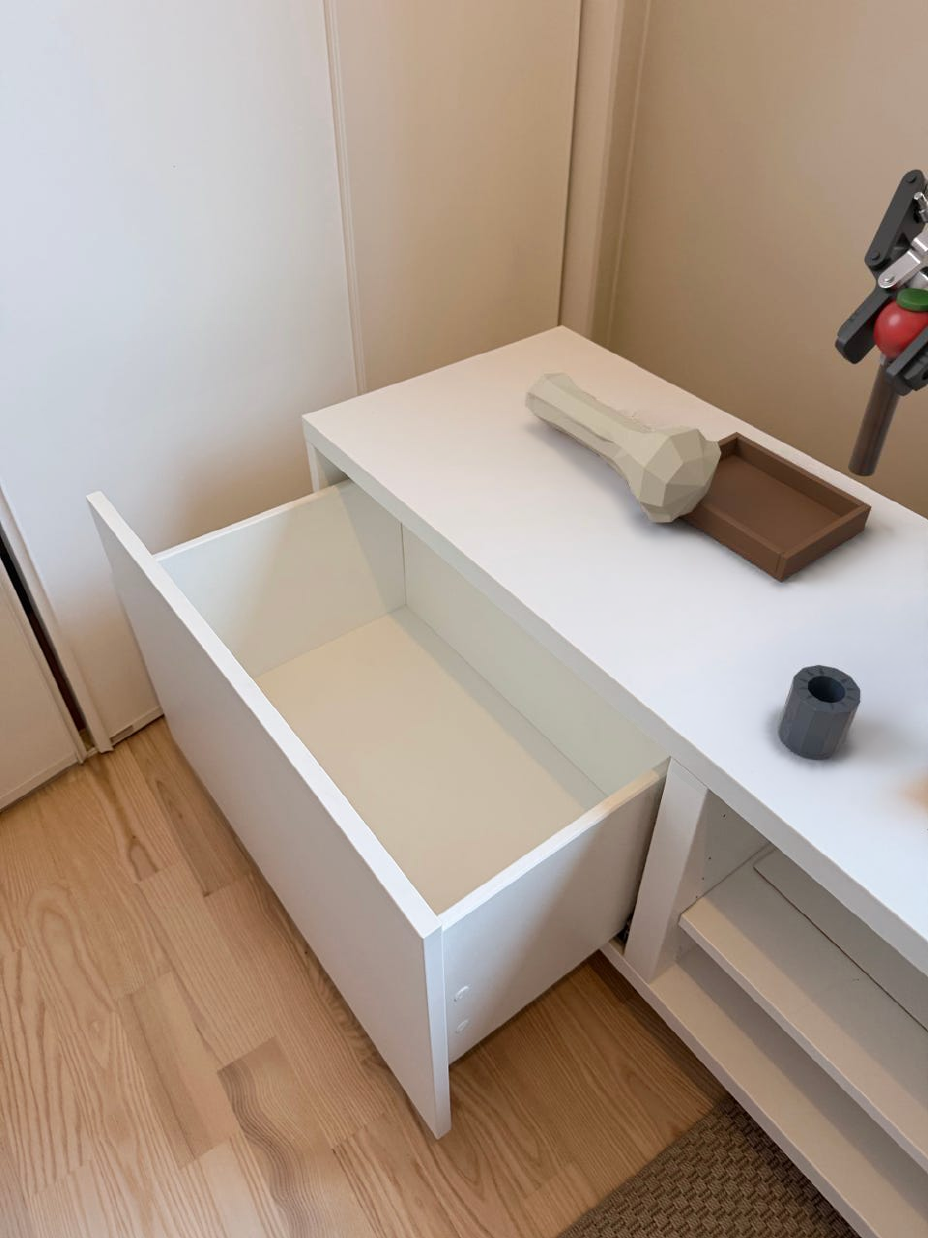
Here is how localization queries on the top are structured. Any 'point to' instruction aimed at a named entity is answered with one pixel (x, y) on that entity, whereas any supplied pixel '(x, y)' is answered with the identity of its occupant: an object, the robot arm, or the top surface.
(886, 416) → the red ball joystick
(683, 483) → the faceted club
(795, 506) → the tray
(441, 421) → the top surface
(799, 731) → the holder
